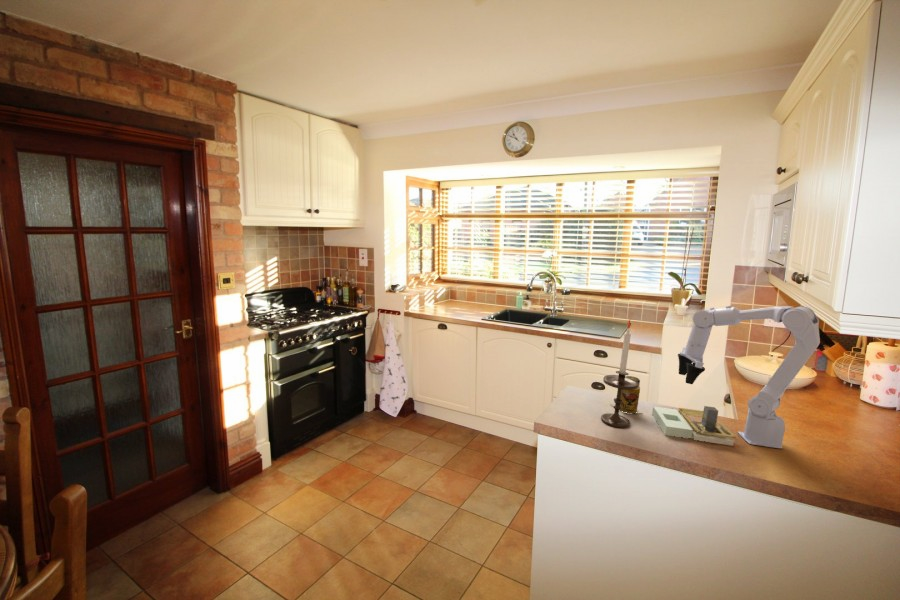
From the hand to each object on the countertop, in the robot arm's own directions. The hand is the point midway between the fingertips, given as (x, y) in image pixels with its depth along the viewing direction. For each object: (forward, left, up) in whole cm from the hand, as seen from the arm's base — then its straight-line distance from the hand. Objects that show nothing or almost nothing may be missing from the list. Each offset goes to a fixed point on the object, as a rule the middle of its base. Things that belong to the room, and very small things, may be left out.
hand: (685, 378), depth 152 cm
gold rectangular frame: (-3, +13, -11) cm, 18 cm away
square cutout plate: (+7, +13, -13) cm, 19 cm away
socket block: (-3, +16, -13) cm, 21 cm away
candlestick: (+25, +16, -13) cm, 32 cm away
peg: (-3, +16, -13) cm, 21 cm away
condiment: (+19, +3, -13) cm, 23 cm away
